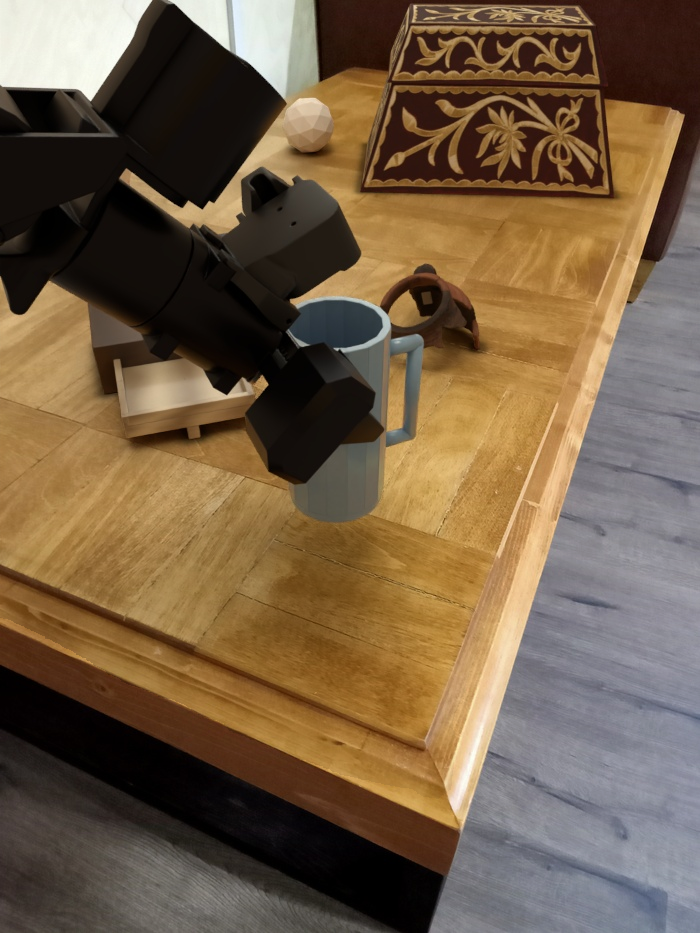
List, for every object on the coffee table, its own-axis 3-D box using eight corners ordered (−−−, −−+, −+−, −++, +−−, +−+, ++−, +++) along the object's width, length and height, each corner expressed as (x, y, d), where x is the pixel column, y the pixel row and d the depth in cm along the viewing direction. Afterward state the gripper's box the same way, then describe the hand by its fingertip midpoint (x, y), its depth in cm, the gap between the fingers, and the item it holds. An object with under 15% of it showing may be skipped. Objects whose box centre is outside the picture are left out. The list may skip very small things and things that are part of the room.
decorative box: (360, 191, 108) (361, 28, 95) (366, 145, 123) (368, -2, 110) (614, 197, 107) (651, 32, 93) (589, 149, 121) (618, 1, 108)
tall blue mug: (310, 534, 50) (303, 362, 41) (276, 474, 54) (264, 308, 46) (434, 495, 53) (452, 328, 44) (392, 442, 57) (401, 280, 49)
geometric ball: (323, 167, 123) (352, 128, 118) (285, 160, 118) (314, 119, 112) (303, 131, 125) (331, 91, 120) (265, 122, 120) (292, 80, 114)
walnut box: (111, 454, 65) (98, 405, 62) (98, 344, 78) (87, 300, 75) (274, 423, 68) (271, 376, 65) (235, 323, 81) (231, 279, 78)
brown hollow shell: (495, 368, 75) (469, 315, 69) (406, 402, 78) (372, 354, 72) (471, 283, 82) (445, 228, 76) (390, 317, 85) (358, 266, 79)
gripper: (335, 215, 30) (529, 386, 41) (202, 91, 43) (376, 245, 54) (164, 426, 33) (388, 535, 43) (87, 249, 46) (275, 366, 56)
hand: (355, 404), depth 49 cm, fingers closed on tall blue mug, 6 cm apart
